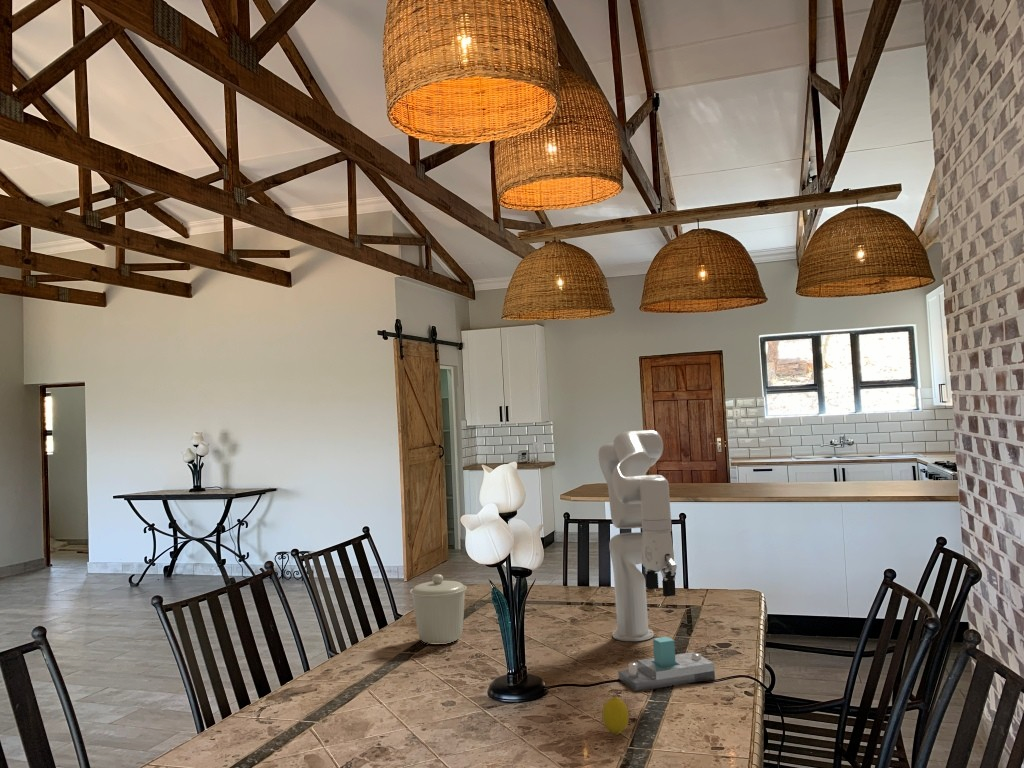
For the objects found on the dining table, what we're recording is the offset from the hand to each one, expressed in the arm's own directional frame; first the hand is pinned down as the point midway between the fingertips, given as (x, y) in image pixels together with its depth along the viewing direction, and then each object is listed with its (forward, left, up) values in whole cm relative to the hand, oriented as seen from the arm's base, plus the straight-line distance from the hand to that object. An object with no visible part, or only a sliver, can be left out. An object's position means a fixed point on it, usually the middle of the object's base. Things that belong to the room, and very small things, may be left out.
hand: (660, 592), depth 206 cm
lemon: (+28, -26, -22) cm, 44 cm away
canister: (-63, -47, -22) cm, 82 cm away
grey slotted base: (0, 0, -22) cm, 22 cm away
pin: (0, 0, -22) cm, 22 cm away
